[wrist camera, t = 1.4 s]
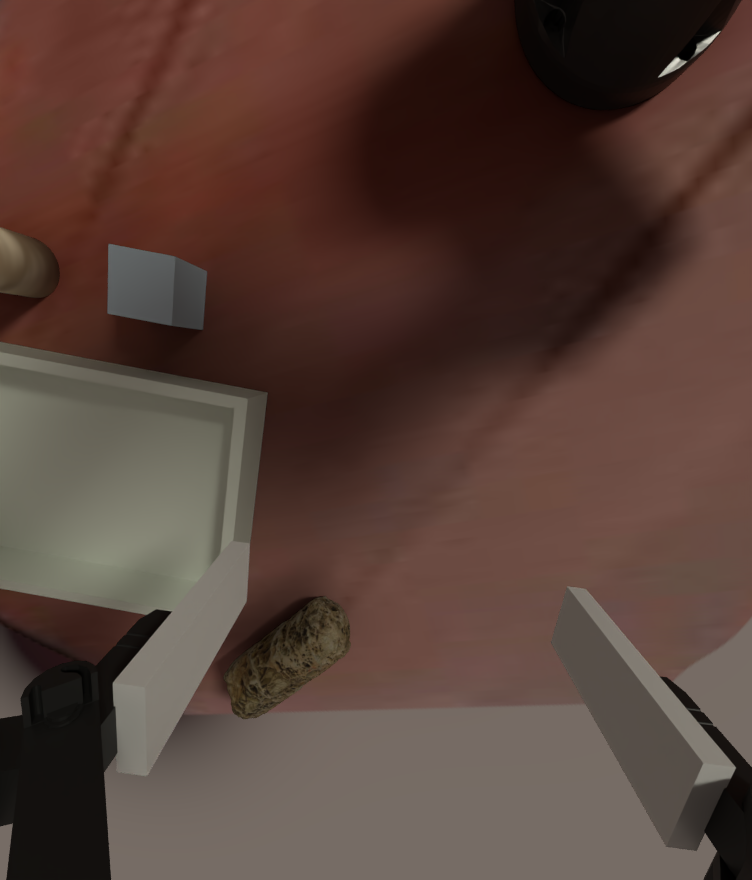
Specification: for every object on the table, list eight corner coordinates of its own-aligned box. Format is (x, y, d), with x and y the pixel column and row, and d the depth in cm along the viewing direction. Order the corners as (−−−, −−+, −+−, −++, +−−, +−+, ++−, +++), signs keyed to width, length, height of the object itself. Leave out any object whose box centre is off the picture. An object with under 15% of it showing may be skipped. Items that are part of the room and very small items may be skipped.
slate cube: (151, 260, 32) (108, 243, 27) (207, 271, 32) (175, 256, 27) (148, 319, 33) (107, 313, 28) (203, 330, 33) (171, 325, 28)
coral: (325, 578, 39) (314, 619, 33) (364, 616, 40) (359, 663, 34) (231, 650, 41) (205, 701, 35) (269, 685, 42) (250, 740, 36)
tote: (-53, 331, 34) (-127, 328, 29) (267, 392, 34) (247, 398, 29) (-35, 544, 39) (-96, 571, 34) (244, 594, 39) (223, 628, 34)
